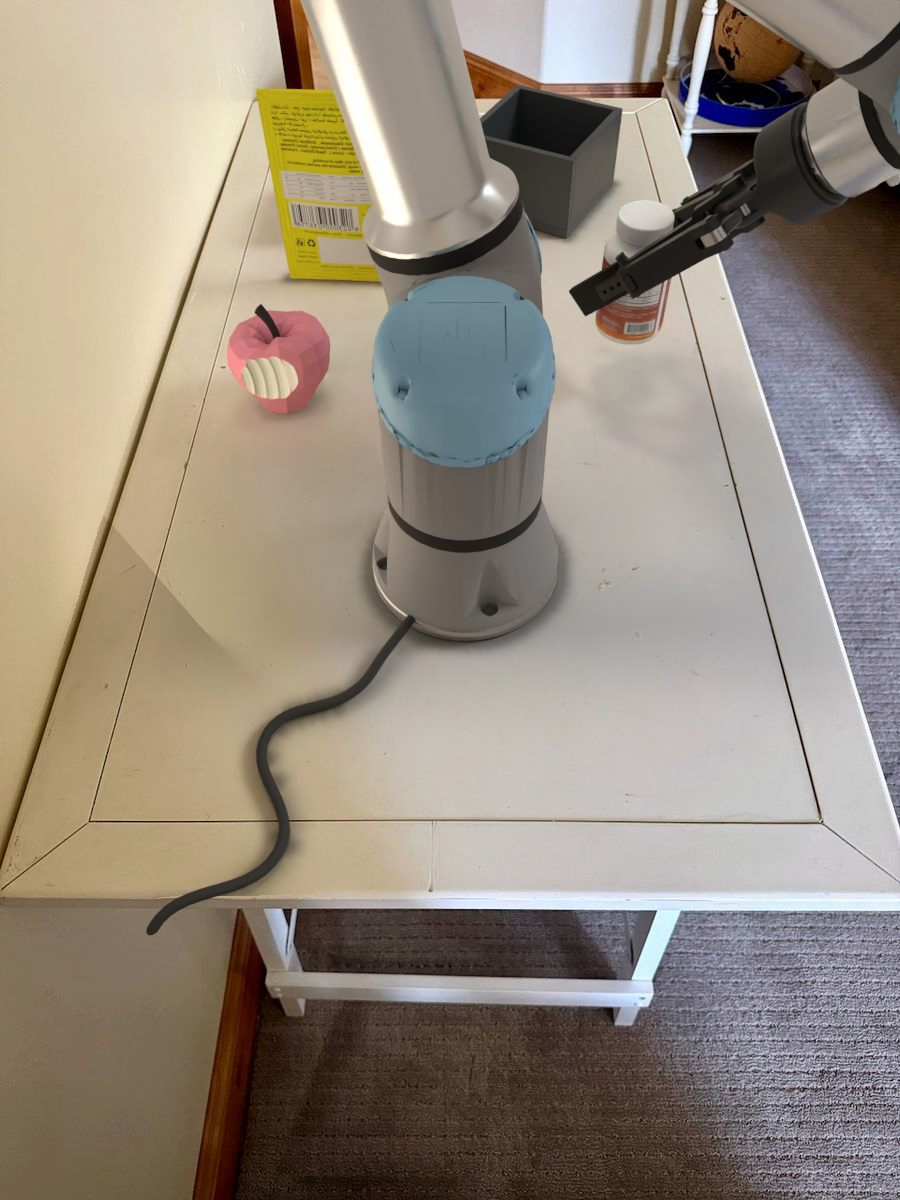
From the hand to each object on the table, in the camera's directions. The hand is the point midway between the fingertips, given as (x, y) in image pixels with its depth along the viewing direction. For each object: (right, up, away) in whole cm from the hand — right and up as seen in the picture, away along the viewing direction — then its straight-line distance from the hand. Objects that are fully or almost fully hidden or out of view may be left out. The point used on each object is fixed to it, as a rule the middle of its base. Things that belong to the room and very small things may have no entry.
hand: (597, 282), depth 82 cm
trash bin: (-3, +20, +27) cm, 34 cm away
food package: (-24, +6, +18) cm, 30 cm away
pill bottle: (+3, -4, +2) cm, 5 cm away
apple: (-29, -10, +6) cm, 31 cm away
